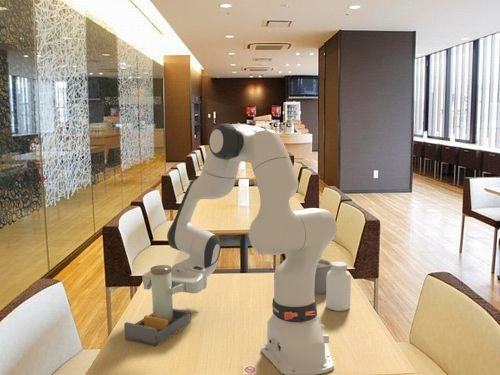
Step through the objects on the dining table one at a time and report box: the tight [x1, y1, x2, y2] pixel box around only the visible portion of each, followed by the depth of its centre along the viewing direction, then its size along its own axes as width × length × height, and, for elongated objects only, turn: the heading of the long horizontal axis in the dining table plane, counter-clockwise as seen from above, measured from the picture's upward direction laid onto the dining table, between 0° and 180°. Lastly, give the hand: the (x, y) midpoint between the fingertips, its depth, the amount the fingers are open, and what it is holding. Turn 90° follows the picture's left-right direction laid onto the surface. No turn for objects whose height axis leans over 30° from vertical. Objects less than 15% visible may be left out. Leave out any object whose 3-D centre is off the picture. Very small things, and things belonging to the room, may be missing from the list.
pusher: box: [143, 314, 168, 330], centre depth 155 cm, size 1×8×3 cm, turn 64°
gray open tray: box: [123, 308, 191, 347], centre depth 156 cm, size 18×11×5 cm, turn 154°
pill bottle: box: [325, 261, 352, 312], centre depth 171 cm, size 8×8×15 cm
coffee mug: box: [314, 258, 332, 295], centre depth 188 cm, size 13×10×10 cm
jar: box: [149, 264, 174, 325], centre depth 157 cm, size 6×6×18 cm
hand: (158, 289), depth 155 cm, fingers open, 8 cm apart
